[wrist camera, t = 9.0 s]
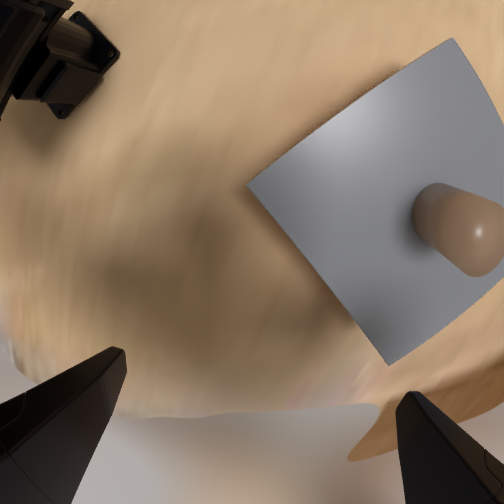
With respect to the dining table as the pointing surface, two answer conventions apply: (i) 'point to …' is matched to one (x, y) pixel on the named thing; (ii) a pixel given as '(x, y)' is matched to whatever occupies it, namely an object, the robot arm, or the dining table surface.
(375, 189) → the lid
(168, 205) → the dining table surface
